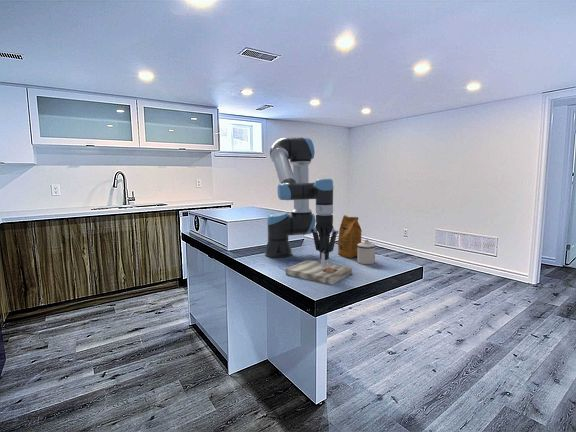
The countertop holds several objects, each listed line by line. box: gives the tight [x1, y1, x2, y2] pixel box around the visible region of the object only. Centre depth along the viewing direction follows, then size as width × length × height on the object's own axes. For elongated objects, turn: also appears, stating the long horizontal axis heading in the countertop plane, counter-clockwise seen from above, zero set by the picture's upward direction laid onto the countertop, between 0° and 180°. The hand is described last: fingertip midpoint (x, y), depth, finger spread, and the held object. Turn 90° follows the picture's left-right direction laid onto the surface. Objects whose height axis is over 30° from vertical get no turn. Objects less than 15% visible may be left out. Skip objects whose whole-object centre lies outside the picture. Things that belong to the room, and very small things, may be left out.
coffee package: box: [337, 214, 362, 259], centre depth 174 cm, size 10×12×22 cm
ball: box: [325, 267, 335, 273], centre depth 140 cm, size 4×4×4 cm
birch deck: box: [285, 259, 353, 285], centre depth 144 cm, size 24×18×2 cm
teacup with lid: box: [356, 239, 377, 265], centre depth 162 cm, size 12×9×12 cm
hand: (324, 266), depth 142 cm, fingers closed
